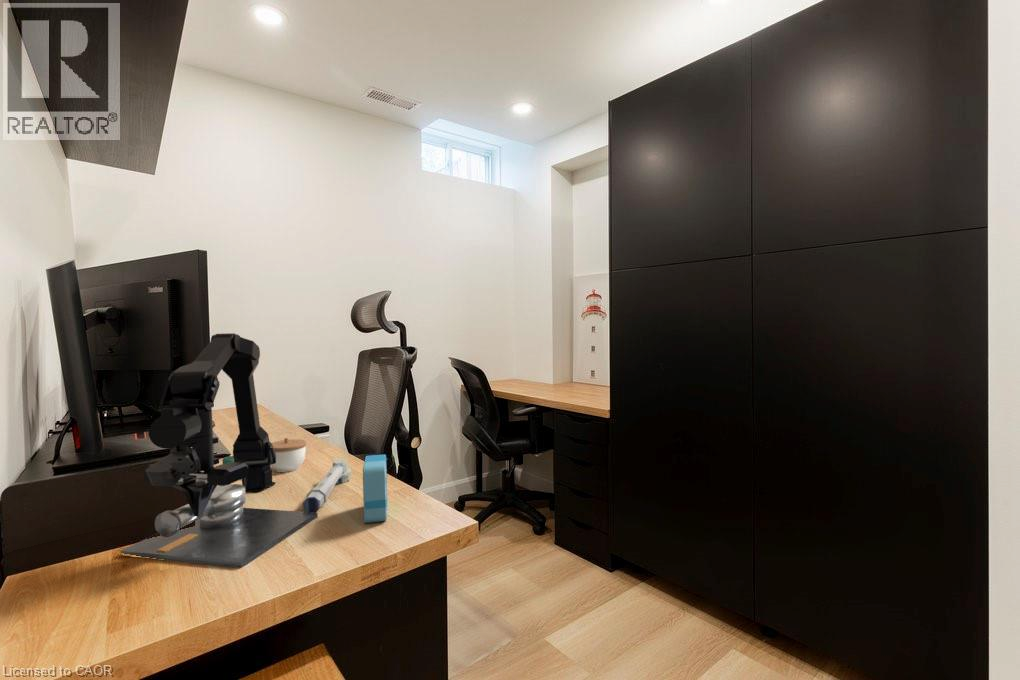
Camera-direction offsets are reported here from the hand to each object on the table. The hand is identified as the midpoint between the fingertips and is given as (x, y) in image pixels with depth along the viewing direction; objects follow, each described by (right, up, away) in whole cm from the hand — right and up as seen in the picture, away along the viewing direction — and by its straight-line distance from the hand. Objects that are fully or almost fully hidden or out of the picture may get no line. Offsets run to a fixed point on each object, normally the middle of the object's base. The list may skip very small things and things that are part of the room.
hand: (198, 515), depth 91 cm
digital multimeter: (-22, -5, +59) cm, 63 cm away
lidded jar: (-6, -5, +50) cm, 50 cm away
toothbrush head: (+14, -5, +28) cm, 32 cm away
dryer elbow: (-2, -2, +5) cm, 6 cm away
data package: (+30, -5, +14) cm, 34 cm away
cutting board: (+3, -6, +5) cm, 8 cm away
